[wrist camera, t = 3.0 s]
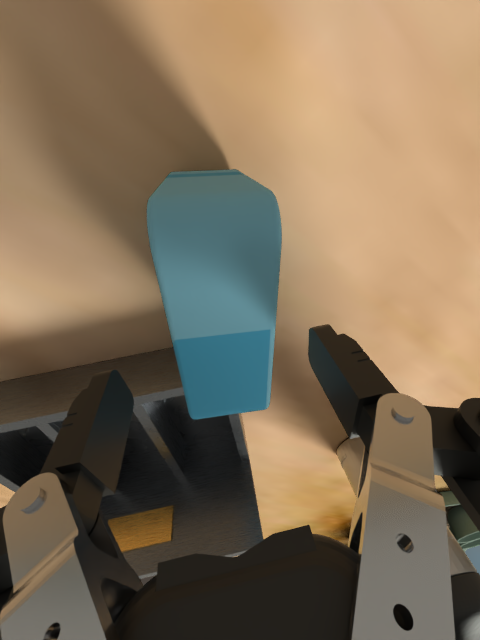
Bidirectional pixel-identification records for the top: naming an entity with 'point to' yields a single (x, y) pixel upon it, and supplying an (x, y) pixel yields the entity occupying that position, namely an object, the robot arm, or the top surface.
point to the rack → (145, 461)
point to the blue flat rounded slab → (218, 285)
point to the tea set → (460, 522)
